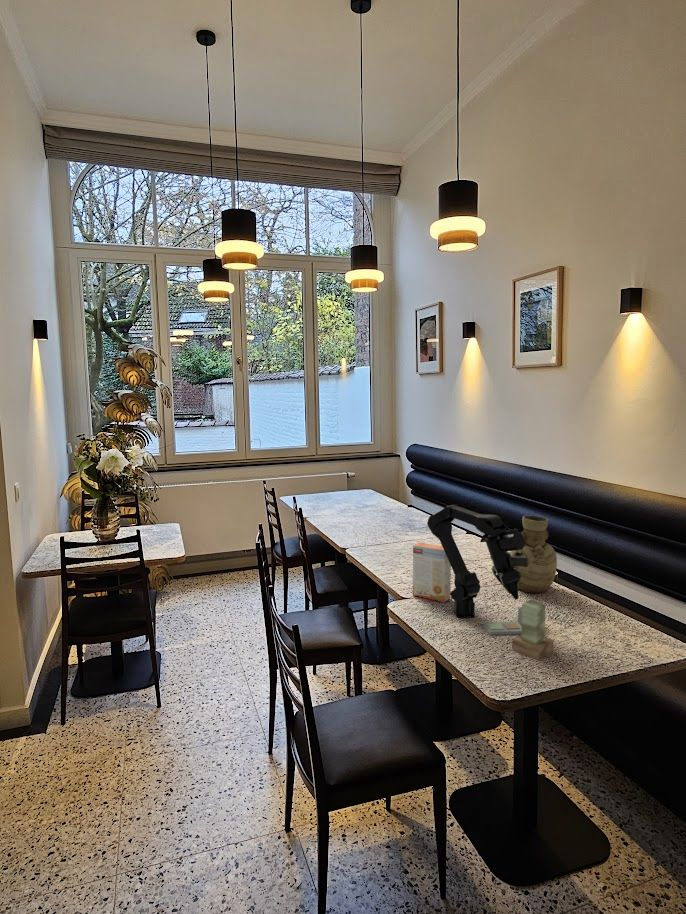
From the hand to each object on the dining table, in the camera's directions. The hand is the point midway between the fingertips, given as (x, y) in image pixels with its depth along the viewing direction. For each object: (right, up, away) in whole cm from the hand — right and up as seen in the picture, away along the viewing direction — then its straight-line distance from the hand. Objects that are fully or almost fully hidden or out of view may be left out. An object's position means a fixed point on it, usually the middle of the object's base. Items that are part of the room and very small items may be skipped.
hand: (513, 596), depth 198 cm
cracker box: (-23, -9, +33) cm, 41 cm away
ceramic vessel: (+19, -7, +43) cm, 47 cm away
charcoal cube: (+7, -12, +6) cm, 15 cm away
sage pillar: (+2, -10, -15) cm, 18 cm away
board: (-3, -12, +2) cm, 13 cm away
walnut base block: (+2, -14, -13) cm, 20 cm away
